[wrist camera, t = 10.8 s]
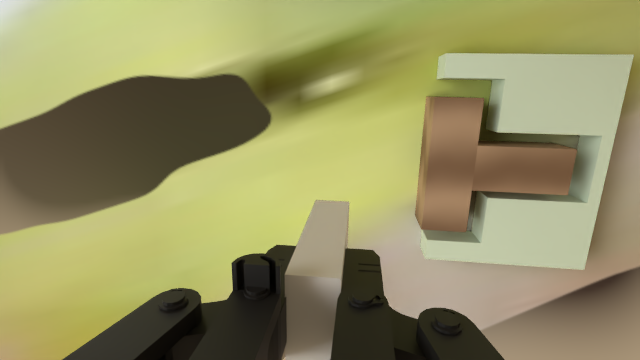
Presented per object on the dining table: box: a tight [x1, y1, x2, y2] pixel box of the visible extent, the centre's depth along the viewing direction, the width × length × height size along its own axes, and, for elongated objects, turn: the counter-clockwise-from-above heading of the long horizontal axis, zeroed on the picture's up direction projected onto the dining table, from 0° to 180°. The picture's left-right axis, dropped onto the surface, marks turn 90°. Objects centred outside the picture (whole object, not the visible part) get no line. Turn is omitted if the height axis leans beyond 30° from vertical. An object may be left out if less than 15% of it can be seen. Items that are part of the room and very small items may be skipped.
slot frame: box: [420, 53, 634, 270], centre depth 32 cm, size 19×14×3 cm
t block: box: [415, 97, 577, 232], centre depth 32 cm, size 12×12×4 cm
